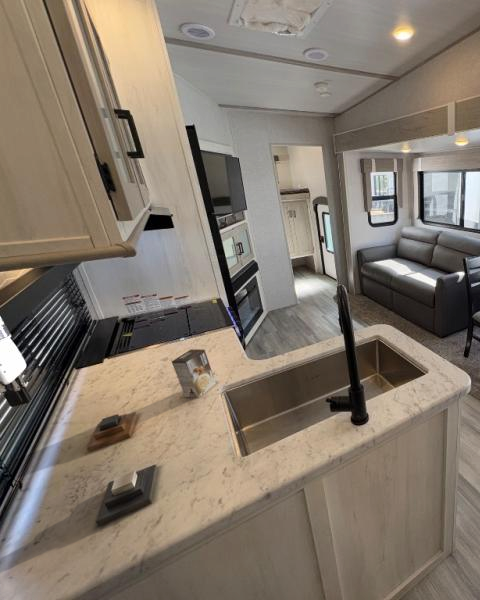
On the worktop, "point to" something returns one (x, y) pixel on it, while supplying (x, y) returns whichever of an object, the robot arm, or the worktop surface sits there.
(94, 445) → the brown stepped pedestal
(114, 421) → the black key
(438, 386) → the worktop surface
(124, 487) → the white key
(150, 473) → the black stepped pedestal
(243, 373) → the worktop surface
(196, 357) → the coffee box
